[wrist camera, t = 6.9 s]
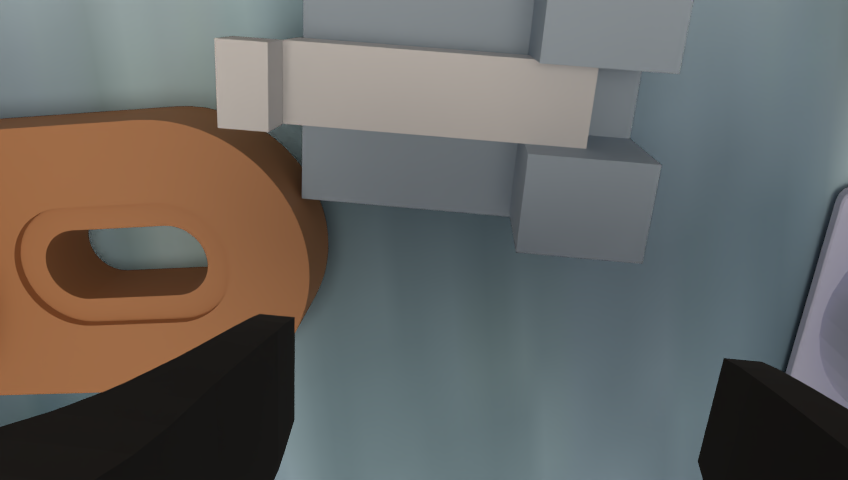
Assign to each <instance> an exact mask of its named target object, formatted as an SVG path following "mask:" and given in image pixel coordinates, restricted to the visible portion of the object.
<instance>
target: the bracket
mask: <svg viewBox="0 0 848 480" xmlns="http://www.w3.org/2000/svg"><path fill="white" fill-rule="evenodd" d="M147 226H174V227H178V228H180V229H183V230H185V231H187V232H188V233H190V234H191V235H192V236H194V237H195V238H196V239H197V240H198V242H199V243H200V244H201V246H202V247H203V249H204V251H205V253H206V256H207V261H208V267H190V268H168V269H147V270H119V269H116V268H113V267H111V266H109V265H107V264H105V263H104V262H103V261H102V260H101V259H99V257H98V256H97V255H96V254H95V252H94V251H93V249H92V247H91V245H90V241H89V236H88V231H89V230H90V229H109V228H128V227H147ZM327 257H328V232H327V224H326V219H325V215H324V211H323V208H322V205H321V202H320V200H314V199H302V167H301V165H300V164H299V163H298V162H297V160H296V159H295V158H294V157H293V156H292V155H291V154H290V153H289V151H288V150H287V149H286V148H285V147H284V146H282V145H281V144H280V143H279V142H278V141H277V140H276V139H274V138H273V137H272V136H270V135H269V134H268V133H266V132H261V131H249V130H237V129H225V128H218V123H217V110H214V109H209V108H203V107H193V106H176V107H162V108H148V109H134V110H119V111H105V112H91V113H77V114H62V115H48V116H34V117H20V118H5V119H0V395H22V394H58V393H94V392H104V391H106V390H109V389H111V388H113V387H116V386H118V385H120V384H123V383H125V382H127V381H129V380H131V379H133V378H135V377H137V376H139V375H142V374H144V373H146V372H148V371H150V370H152V369H154V368H156V367H158V366H160V365H162V364H164V363H166V362H168V361H170V360H172V359H174V358H177V357H178V356H180V355H182V354H184V353H186V352H188V351H190V350H191V349H193V348H195V347H197V346H199V345H201V344H203V343H204V342H206V341H208V340H210V339H212V338H214V337H215V336H217V335H219V334H221V333H223V332H224V331H226V330H228V329H230V328H232V327H234V326H235V325H237V324H239V323H241V322H243V321H245V320H247V319H249V318H251V317H253V316H256V315H258V314H266V315H277V316H287V317H295V332H296V330H297V328H298V327H299V325H300V323H301V321H302V319H303V317H304V316H305V314H306V312H307V310H308V308H309V307H310V305H311V303H312V301H313V299H314V298H315V296H316V294H317V292H318V289H319V287H320V285H321V282H322V279H323V277H324V273H325V269H326V264H327Z"/></svg>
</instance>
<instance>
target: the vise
mask: <svg viewBox="0 0 848 480" xmlns="http://www.w3.org/2000/svg"><path fill="white" fill-rule="evenodd" d="M693 2H694V0H303V38H301V37H297V38H291V39H285V40H278V39H265V38H252V37H239V36H229V37H220V38H214V39H215V67H216V95H217V123H218V128H225V129H237V130H249V131H261V132H270V131H271V130H273V129H275V128H276V127H278V126H280V125H281V124H293V125H302V199H314V200H325V201H336V202H348V203H359V204H370V205H382V206H393V207H405V208H416V209H427V210H439V211H450V212H461V213H473V214H484V215H496V216H507V217H510V220H511V226H512V232H513V238H514V244H515V249H516V252H517V253H528V254H540V255H551V256H562V257H573V258H584V259H595V260H606V261H617V262H628V263H639V264H642V263H643V258H644V253H645V248H646V243H647V238H648V233H649V228H650V222H651V217H652V212H653V207H654V202H655V197H656V192H657V187H658V181H659V176H660V171H661V166H662V165H661V164H660V163H659V162H657V161H656V160H655V159H654V158H653V157H651V156H650V155H649V154H648V153H647V152H645V151H644V150H643V149H642V148H641V147H639V146H638V145H637V144H636V143H635V142H633V141H632V140H631V139H630V136H631V130H632V125H633V119H634V113H635V108H636V102H637V96H638V91H639V85H640V79H641V74H642V71H645V72H658V73H671V74H680V69H681V64H682V58H683V53H684V48H685V43H686V38H687V33H688V28H689V23H690V17H691V12H692V7H693Z"/></svg>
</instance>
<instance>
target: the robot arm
mask: <svg viewBox="0 0 848 480" xmlns="http://www.w3.org/2000/svg"><path fill="white" fill-rule="evenodd" d="M294 363H295V317H287V316H277V315H266V314H258V315H256V316H253V317H251V318H249V319H247V320H245V321H243V322H241V323H239V324H237V325H235V326H234V327H232V328H230V329H228V330H226V331H224V332H223V333H221V334H219V335H217V336H215V337H214V338H212V339H210V340H208V341H206V342H204V343H203V344H201V345H199V346H197V347H195V348H193V349H191V350H190V351H188V352H186V353H184V354H182V355H180V356H178V357H177V358H174V359H172V360H170V361H168V362H166V363H164V364H162V365H160V366H158V367H156V368H154V369H152V370H150V371H148V372H146V373H144V374H142V375H139V376H137V377H135V378H133V379H131V380H129V381H127V382H125V383H123V384H120V385H118V386H116V387H113V388H111V389H109V390H106V391H104V392H101V393H99V394H97V395H94V396H91V397H89V398H86V399H83V400H81V401H78V402H76V403H73V404H70V405H68V406H65V407H62V408H59V409H57V410H54V411H51V412H48V413H45V414H41V415H38V416H35V417H31V418H28V419H25V420H22V421H18V422H15V423H12V424H8V425H5V426H2V427H0V480H274V479H275V476H276V474H277V472H278V470H279V467H280V464H281V461H282V458H283V455H284V451H285V448H286V445H287V442H288V439H289V435H290V432H291V429H292V425H293V422H294ZM698 463H699V467H700V470H701V474H702V477H703V480H848V187H847V188H845V189H844V190H843V191H842V192H840V193H839V195H838V197H837V199H836V201H835V205H834V208H833V212H832V215H831V218H830V222H829V225H828V229H827V232H826V236H825V239H824V242H823V246H822V249H821V253H820V256H819V260H818V263H817V266H816V270H815V273H814V277H813V280H812V284H811V287H810V291H809V294H808V297H807V301H806V304H805V308H804V311H803V315H802V318H801V321H800V325H799V328H798V332H797V335H796V339H795V342H794V345H793V349H792V352H791V356H790V359H789V363H788V366H787V369H786V373H784V372H782V371H781V370H779V369H776V368H774V367H772V366H770V365H768V364H765V363H763V362H757V361H747V360H736V359H726V358H724V360H723V364H722V368H721V372H720V376H719V380H718V384H717V388H716V392H715V396H714V399H713V403H712V407H711V411H710V415H709V419H708V423H707V427H706V431H705V435H704V439H703V443H702V447H701V451H700V455H699V459H698Z"/></svg>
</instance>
